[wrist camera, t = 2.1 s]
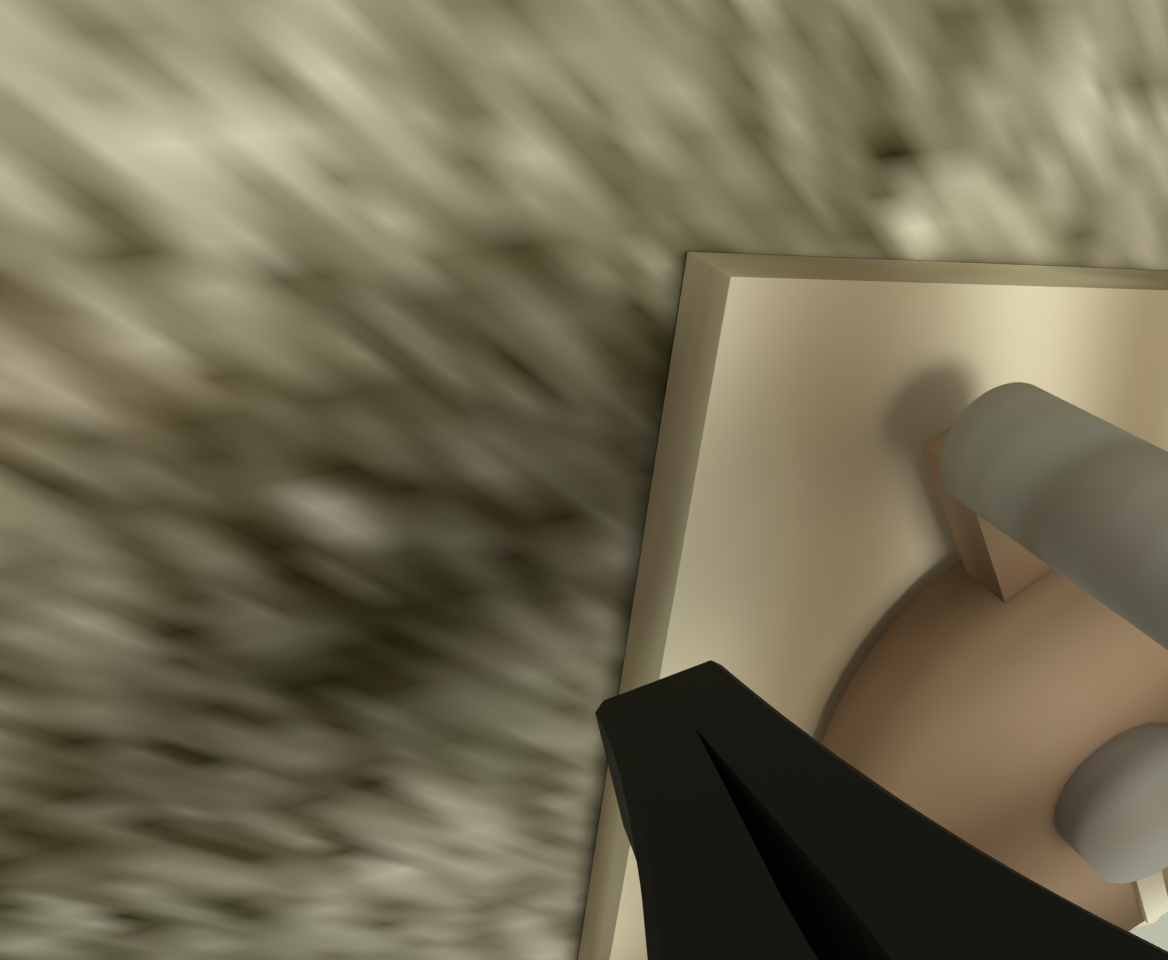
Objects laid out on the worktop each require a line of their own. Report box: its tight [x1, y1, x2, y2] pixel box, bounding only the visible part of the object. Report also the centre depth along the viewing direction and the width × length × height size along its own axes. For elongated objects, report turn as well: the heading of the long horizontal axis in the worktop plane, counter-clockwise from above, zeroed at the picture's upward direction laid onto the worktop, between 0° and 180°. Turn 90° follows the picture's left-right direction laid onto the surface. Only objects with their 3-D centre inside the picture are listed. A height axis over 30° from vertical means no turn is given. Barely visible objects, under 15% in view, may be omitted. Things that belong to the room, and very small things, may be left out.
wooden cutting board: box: [578, 252, 1168, 960], centre depth 20 cm, size 17×18×2 cm
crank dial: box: [821, 382, 1168, 931], centre depth 16 cm, size 15×11×5 cm
